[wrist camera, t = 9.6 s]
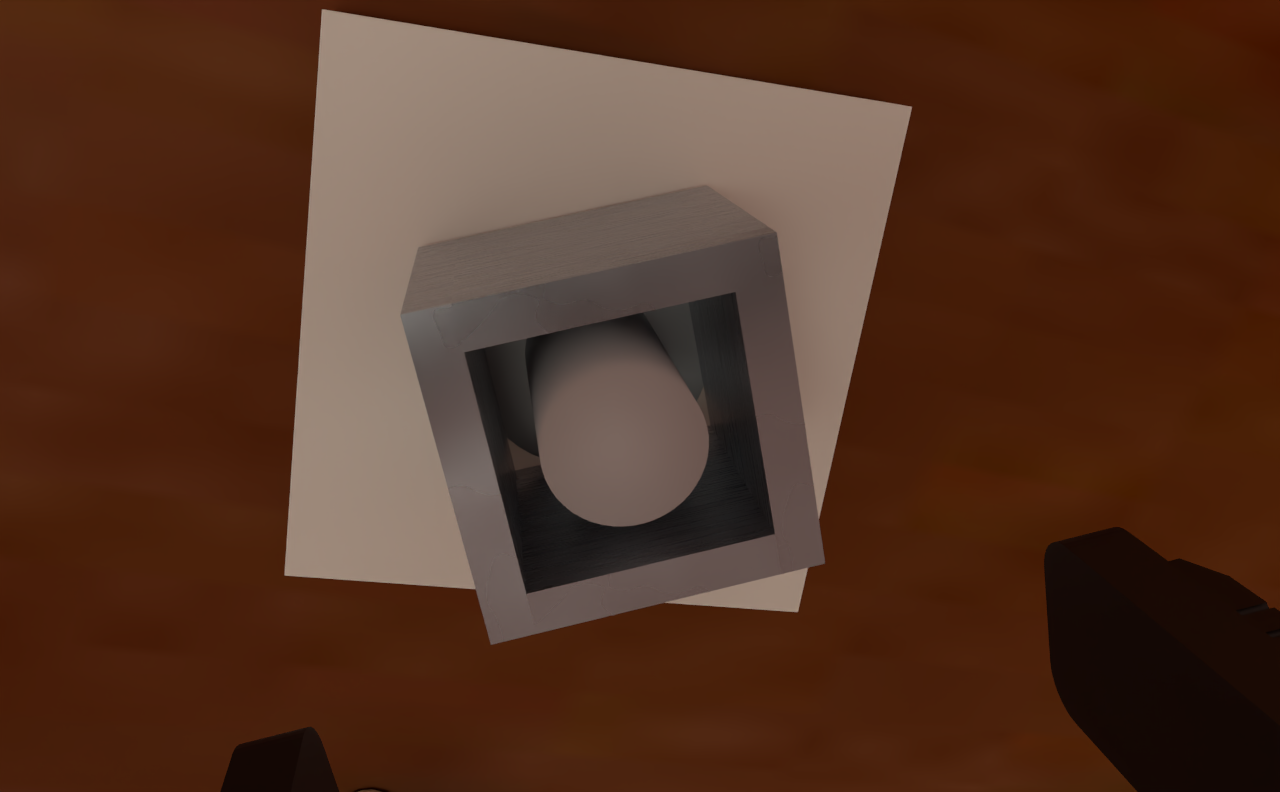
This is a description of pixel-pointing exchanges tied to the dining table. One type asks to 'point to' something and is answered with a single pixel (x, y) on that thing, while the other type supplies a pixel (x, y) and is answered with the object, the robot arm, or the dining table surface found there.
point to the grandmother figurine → (369, 790)
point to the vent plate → (522, 169)
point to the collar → (590, 293)
